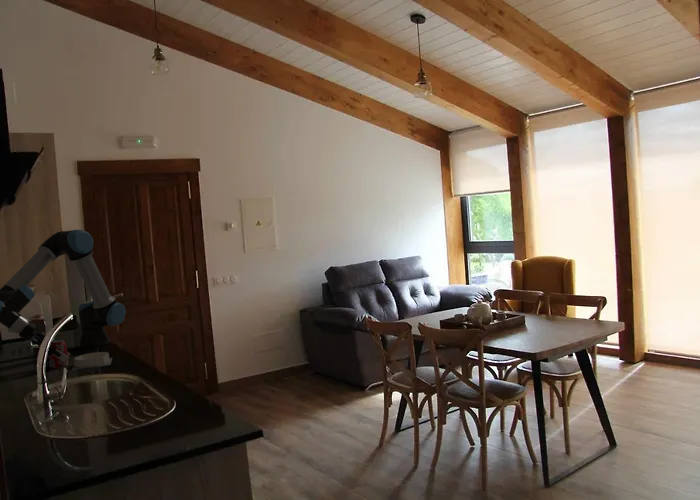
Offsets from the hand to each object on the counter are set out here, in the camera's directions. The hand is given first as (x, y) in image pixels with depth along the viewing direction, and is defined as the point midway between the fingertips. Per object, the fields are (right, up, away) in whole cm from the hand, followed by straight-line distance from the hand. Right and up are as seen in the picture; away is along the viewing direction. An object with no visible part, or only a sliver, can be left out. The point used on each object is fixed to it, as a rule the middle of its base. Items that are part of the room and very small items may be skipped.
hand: (67, 358), depth 278 cm
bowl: (+12, -2, -1) cm, 12 cm away
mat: (+12, -3, -1) cm, 12 cm away
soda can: (-3, -4, -1) cm, 5 cm away
